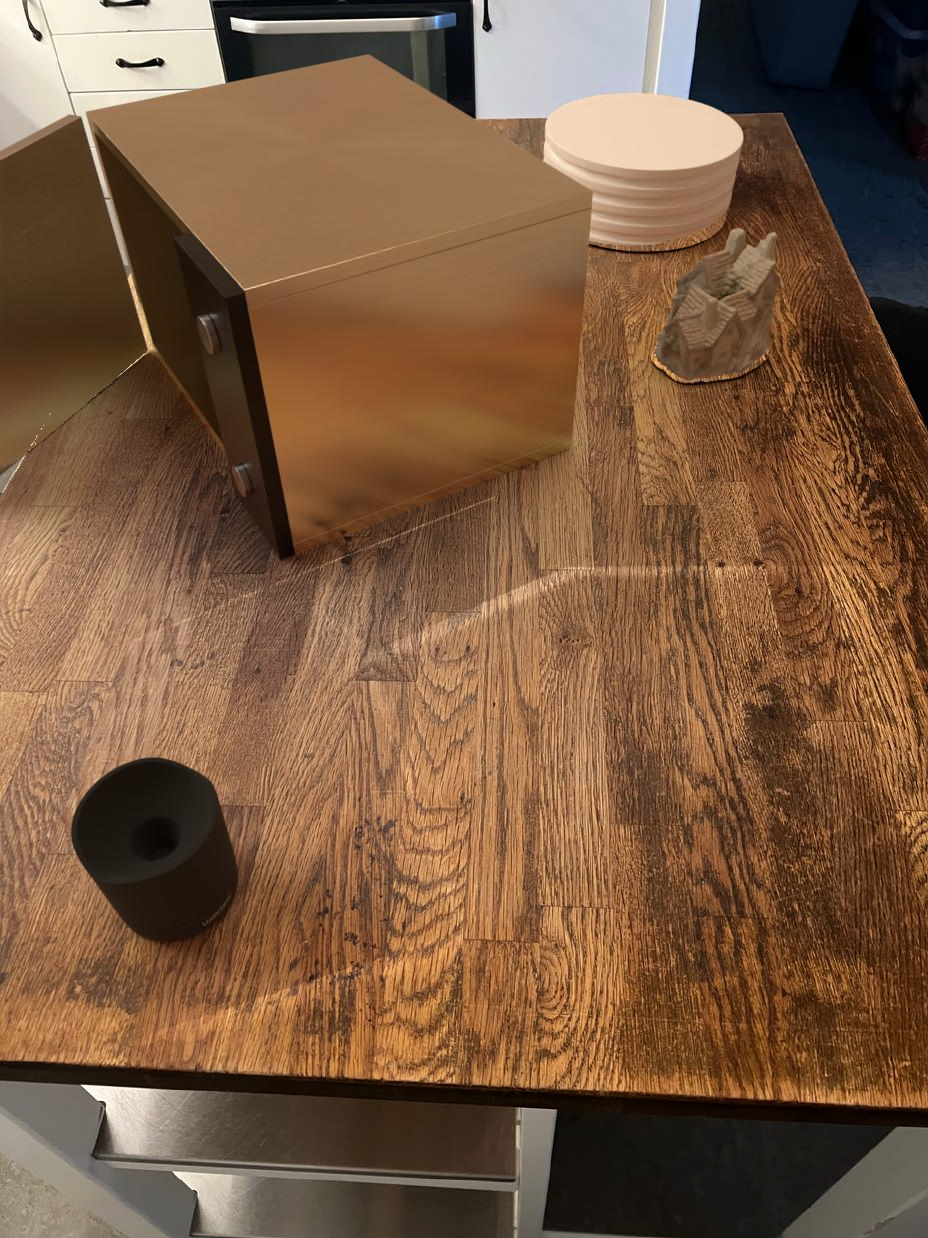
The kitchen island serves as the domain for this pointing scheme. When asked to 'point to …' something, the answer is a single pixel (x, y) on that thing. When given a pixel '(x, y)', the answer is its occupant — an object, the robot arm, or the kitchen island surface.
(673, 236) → the plate stack
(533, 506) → the kitchen island surface
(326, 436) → the microwave
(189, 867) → the pen holder
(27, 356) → the microwave door
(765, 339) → the ceramic cottage
